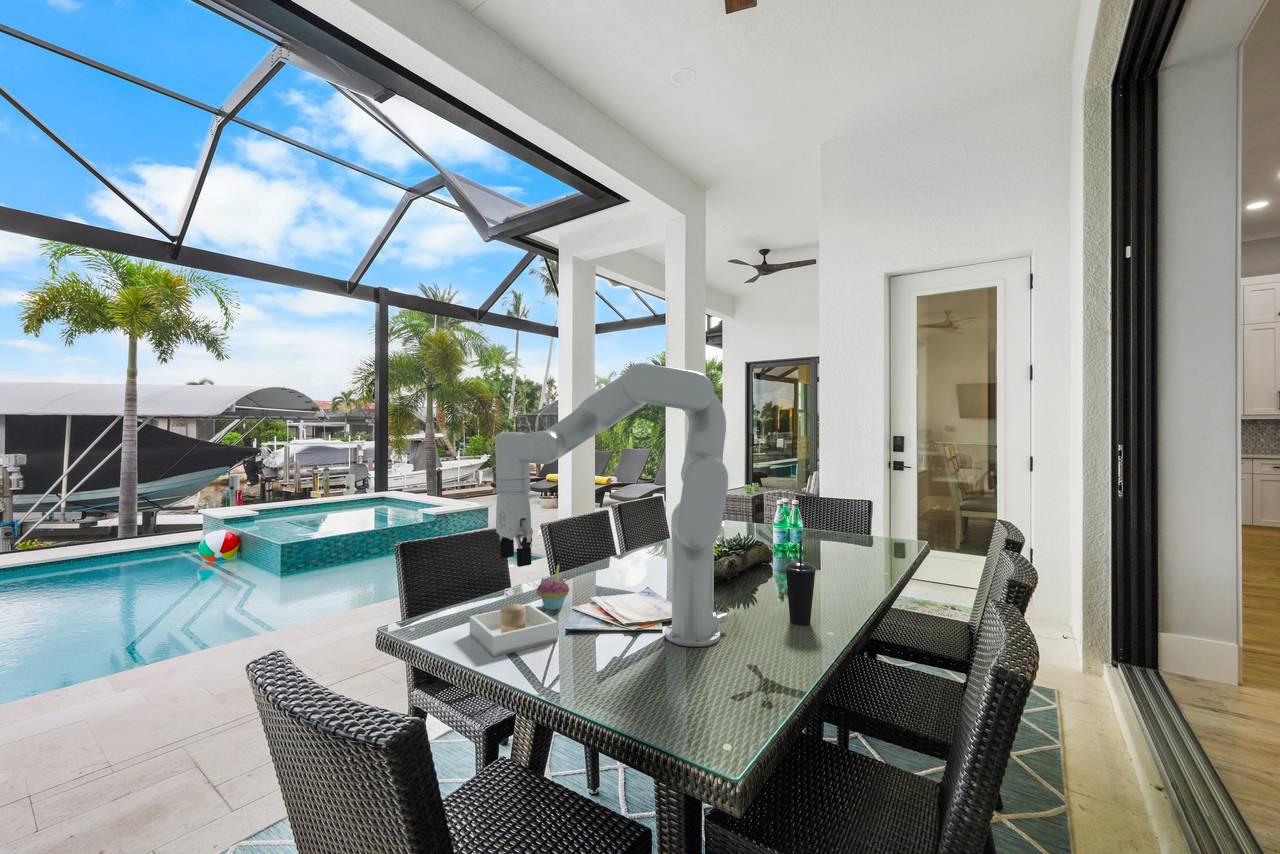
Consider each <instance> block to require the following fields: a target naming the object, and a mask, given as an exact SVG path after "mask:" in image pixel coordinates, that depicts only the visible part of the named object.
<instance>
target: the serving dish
mask: <svg viewBox="0 0 1280 854" xmlns="http://www.w3.org/2000/svg"><path fill="white" fill-rule="evenodd" d="M523 605H524V606H525V628H523V629H518V630H514V631H509V632H505V633H501V609H498V610H494V611H489V612H483V613H479V614H474V615H473V614H472V615H470V616H469V635H470V636H471V638H473V640H475V641H476V642H477V644H479V645H480V646H481V647H482V648H483V649H484V650H485V651H486V652H487V653H488V654H490V656H492V658H495V657H499V656H503V655H507V654H510V653H515V652H519V651H522V650H527V649H531V648H535V647H539V646H543V645H547V644H551V643H554V642H558V641H559V640H558V639H559V632H558V630H559V629H558V625H559V622H558V621H557V620H556V619H554V618H552V617H551V616H550V615H548V614H546V613H545V612H543V611H542V610H540V609H539V608H537V607H535V606H534V605H533V604H531V603H529V604H523Z"/></svg>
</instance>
